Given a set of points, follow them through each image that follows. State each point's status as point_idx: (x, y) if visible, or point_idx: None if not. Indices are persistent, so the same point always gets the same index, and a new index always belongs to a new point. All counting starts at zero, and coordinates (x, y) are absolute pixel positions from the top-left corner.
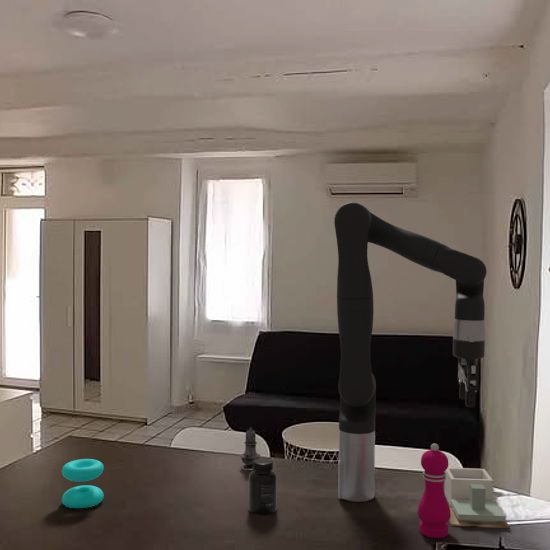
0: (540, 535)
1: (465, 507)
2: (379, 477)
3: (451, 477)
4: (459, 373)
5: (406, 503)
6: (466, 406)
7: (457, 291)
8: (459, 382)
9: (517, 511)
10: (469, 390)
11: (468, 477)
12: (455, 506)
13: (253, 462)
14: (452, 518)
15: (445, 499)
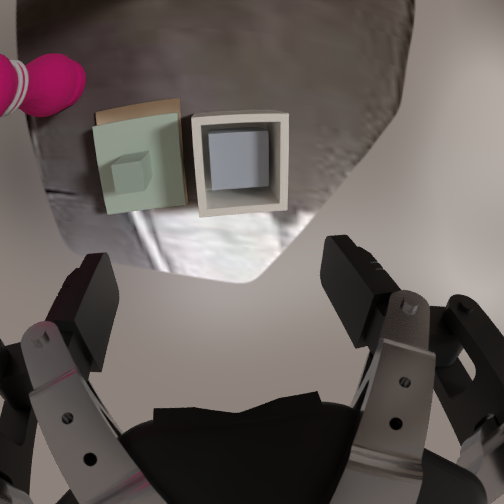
0: None
1: (132, 141)
2: (360, 2)
3: (205, 119)
4: (365, 403)
5: (204, 26)
6: (88, 254)
7: None
8: (398, 302)
9: (196, 236)
10: (7, 346)
11: (275, 166)
12: (133, 121)
13: None
14: (122, 113)
15: (23, 110)
